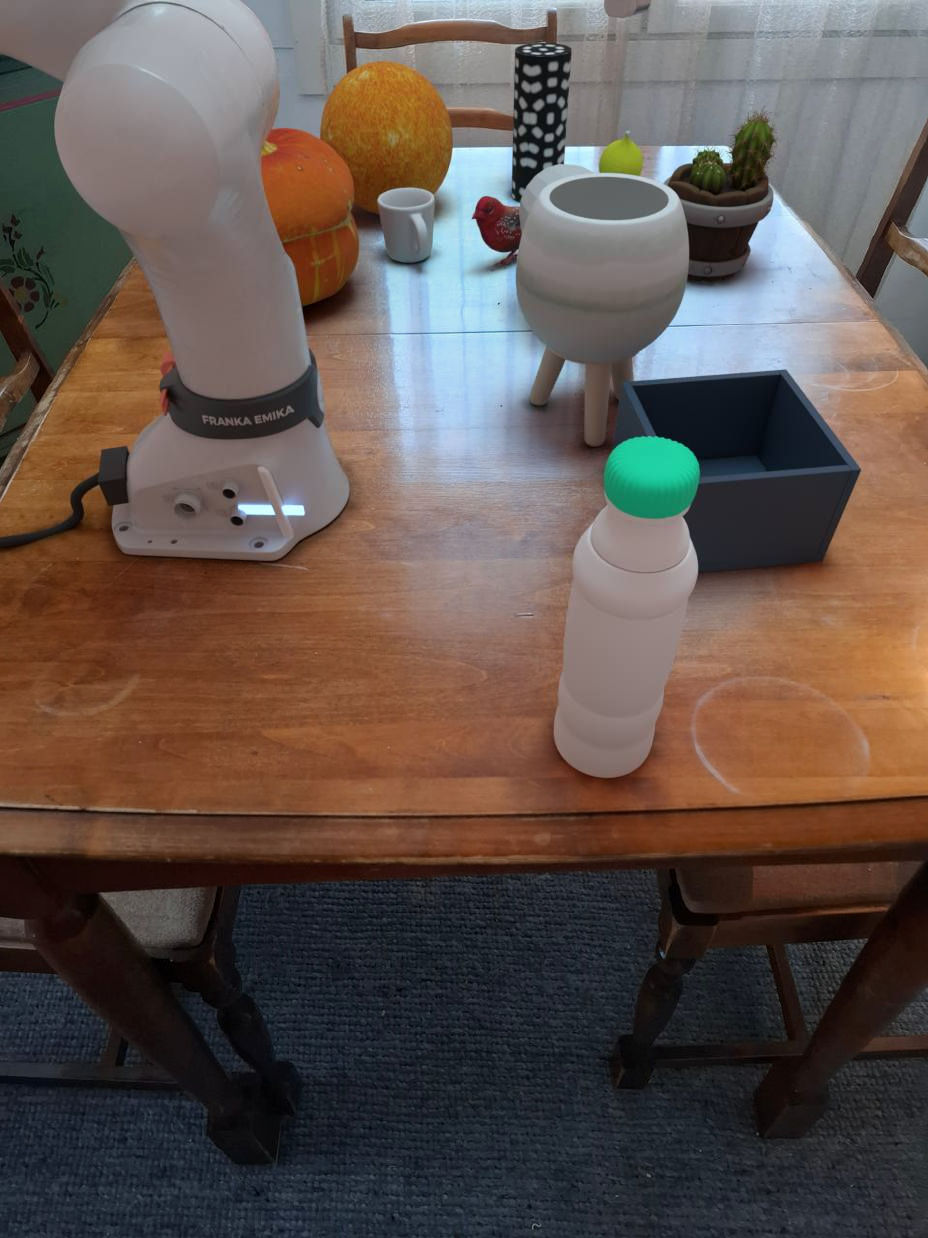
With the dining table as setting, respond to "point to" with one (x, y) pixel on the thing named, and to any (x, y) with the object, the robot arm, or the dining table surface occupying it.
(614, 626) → the water bottle
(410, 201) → the cup
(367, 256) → the dining table surface
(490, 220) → the decorative bird figurine
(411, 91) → the decorative sphere
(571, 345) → the planter
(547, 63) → the white-spotted black cylinder
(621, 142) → the yellow-green rounded piece
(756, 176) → the flowerpot
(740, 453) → the bin
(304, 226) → the pumpkin
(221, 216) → the robot arm
